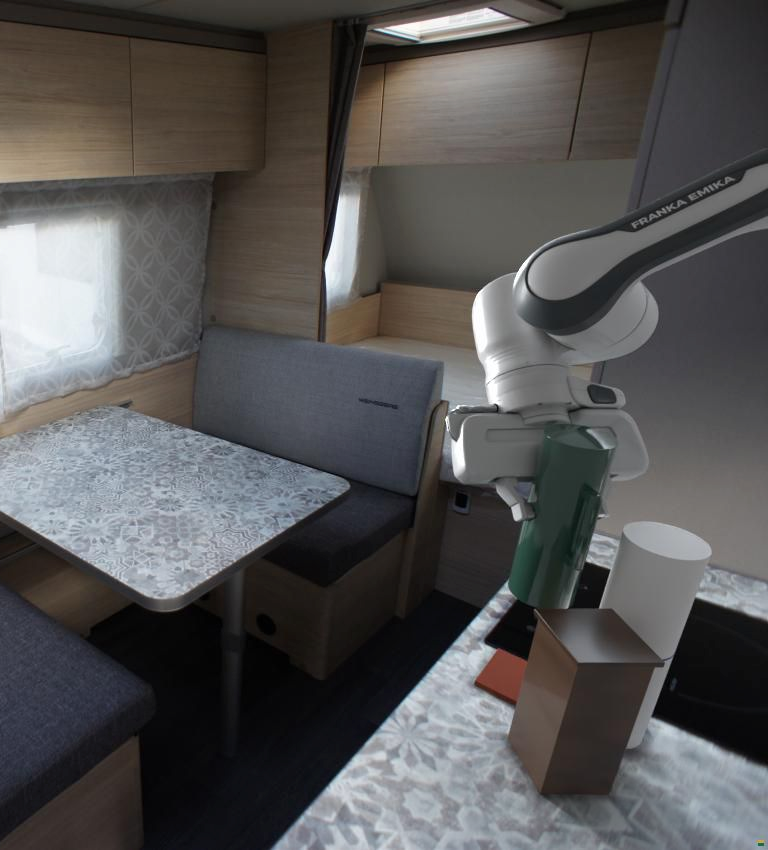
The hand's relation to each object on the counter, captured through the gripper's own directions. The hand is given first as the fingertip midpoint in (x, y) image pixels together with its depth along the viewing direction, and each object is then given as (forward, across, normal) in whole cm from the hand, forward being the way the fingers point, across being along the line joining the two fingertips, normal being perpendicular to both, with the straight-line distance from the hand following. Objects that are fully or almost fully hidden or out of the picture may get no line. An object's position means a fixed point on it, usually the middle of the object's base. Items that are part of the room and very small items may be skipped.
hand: (562, 519), depth 73 cm
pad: (+17, 0, +17) cm, 24 cm away
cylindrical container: (+21, +7, +13) cm, 26 cm away
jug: (+7, 0, +8) cm, 10 cm away
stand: (+25, -2, +9) cm, 27 cm away
